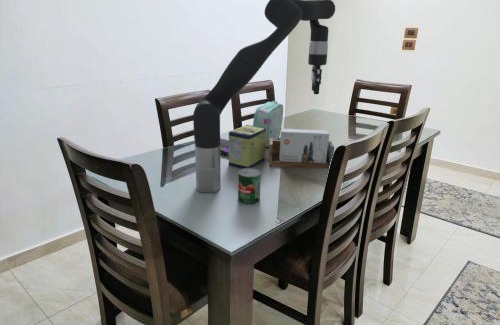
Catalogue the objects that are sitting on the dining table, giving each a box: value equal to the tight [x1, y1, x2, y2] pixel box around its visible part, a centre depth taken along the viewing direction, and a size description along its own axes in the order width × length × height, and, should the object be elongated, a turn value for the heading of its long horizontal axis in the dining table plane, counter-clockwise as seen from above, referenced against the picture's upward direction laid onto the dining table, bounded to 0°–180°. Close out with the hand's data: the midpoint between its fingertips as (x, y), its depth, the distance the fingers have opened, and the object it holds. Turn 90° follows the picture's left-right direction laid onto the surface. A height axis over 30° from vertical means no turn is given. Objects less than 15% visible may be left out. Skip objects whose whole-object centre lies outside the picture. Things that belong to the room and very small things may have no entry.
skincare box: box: [278, 128, 330, 163], centre depth 160 cm, size 21×6×16 cm, turn 87°
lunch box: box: [252, 100, 284, 148], centre depth 190 cm, size 27×10×21 cm, turn 161°
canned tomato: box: [237, 167, 262, 206], centre depth 125 cm, size 8×8×11 cm
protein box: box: [228, 124, 266, 169], centre depth 160 cm, size 10×16×16 cm
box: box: [220, 137, 229, 159], centre depth 178 cm, size 14×4×20 cm
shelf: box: [268, 138, 335, 170], centre depth 162 cm, size 11×28×10 cm, turn 87°
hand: (315, 92), depth 153 cm, fingers open, 8 cm apart
